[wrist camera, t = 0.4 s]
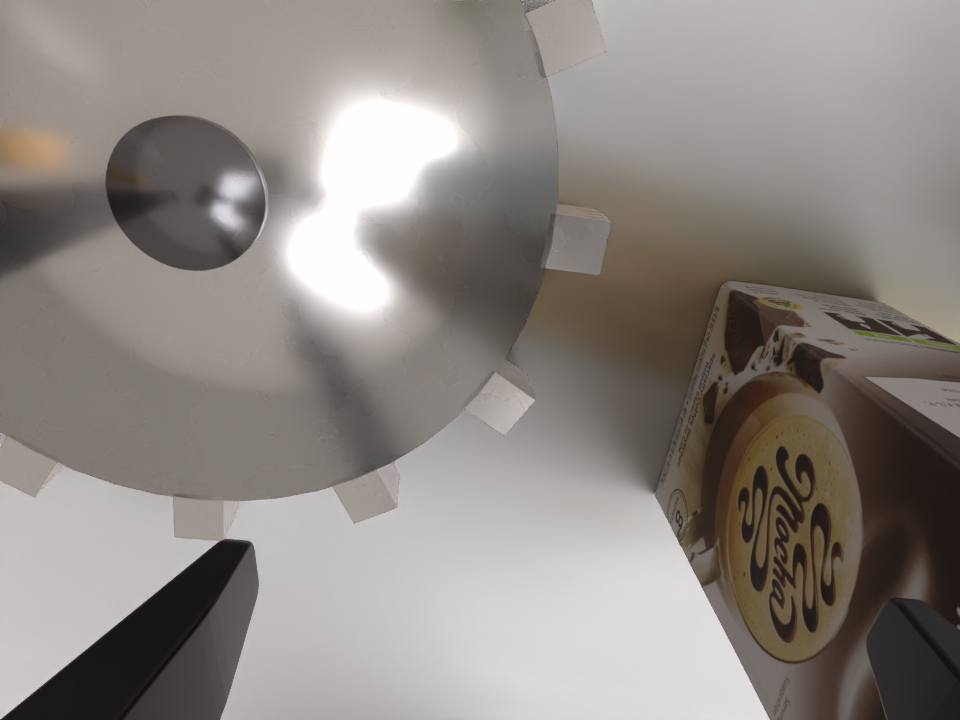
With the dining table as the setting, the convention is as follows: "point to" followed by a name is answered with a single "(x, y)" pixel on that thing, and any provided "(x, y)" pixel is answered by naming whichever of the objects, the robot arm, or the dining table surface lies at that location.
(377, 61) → the sprocket
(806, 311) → the coffee box
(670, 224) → the dining table surface
